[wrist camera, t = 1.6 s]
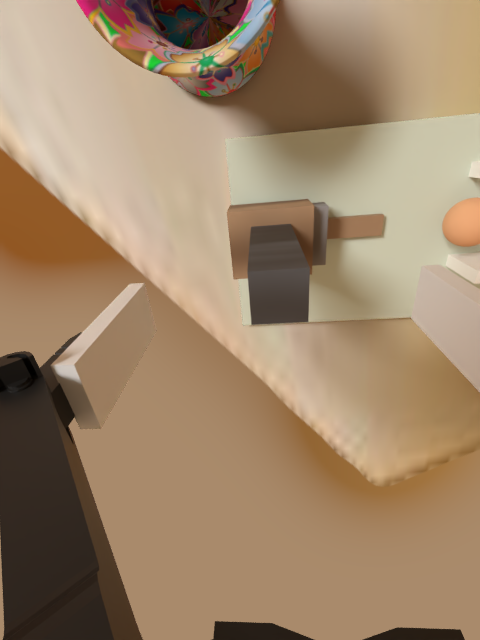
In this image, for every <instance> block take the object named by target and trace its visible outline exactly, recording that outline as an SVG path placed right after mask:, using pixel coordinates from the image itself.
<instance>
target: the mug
mask: <svg viewBox="0 0 480 640" xmlns="http://www.w3.org/2000/svg"><path fill="white" fill-rule="evenodd" d="M76 1H77V3H78V4H79V6H80V7H81V9H82V11H83V12H84V14H85V15H86V17H87V18H88V19H89V21H90V22H91V23H92V25H93V26H94V27H95V29H96V30H97V31H98V32H99V33H100V34H101V36H102V37H103V38H104V39H105V40H106V41H107V42H108V43H109V44H110V45H111V46H112V47H113V48H114V49H116V50H117V51H118V52H119V53H121V54H122V55H123V56H124V57H126V58H127V59H129V60H130V61H132V62H133V63H135V64H137V65H139V66H141V67H142V68H144V69H147V70H149V71H152V72H154V73H158V74H161V75H165V76H168V77H169V78H170V79H171V80H172V81H173V82H175V83H176V84H177V85H178V86H180V87H181V88H183V89H185V90H186V91H188V92H191V93H193V94H196V95H200V96H205V97H216V96H222V95H226V94H229V93H231V92H233V91H235V90H237V89H238V88H240V87H241V86H243V85H244V84H245V83H246V82H247V81H248V80H250V79H251V77H252V76H253V75H254V74H255V73H256V71H257V70H258V68H259V67H260V65H261V64H262V62H263V60H264V58H265V56H266V54H267V52H268V49H269V46H270V43H271V40H272V36H273V31H274V25H275V16H276V8H277V6H278V4H279V2H280V0H76Z"/></svg>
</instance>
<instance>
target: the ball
mask: <svg viewBox="0 0 480 640" xmlns="http://www.w3.org/2000/svg"><path fill="white" fill-rule="evenodd" d="M442 230H443V234H444V236H445V237H446V239H447V240H448V241H450V242H451V243H453V244H455V245H458V246H463V247H469V246H475V245H478V244H480V198H478V197H477V198H469V199H465V200H462V201H460V202H458V203H457V204H455V205H454V206H453V207H452V208H450V209H449V211H448V212H447V213H446V215H445V217H444V219H443V223H442Z"/></svg>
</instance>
